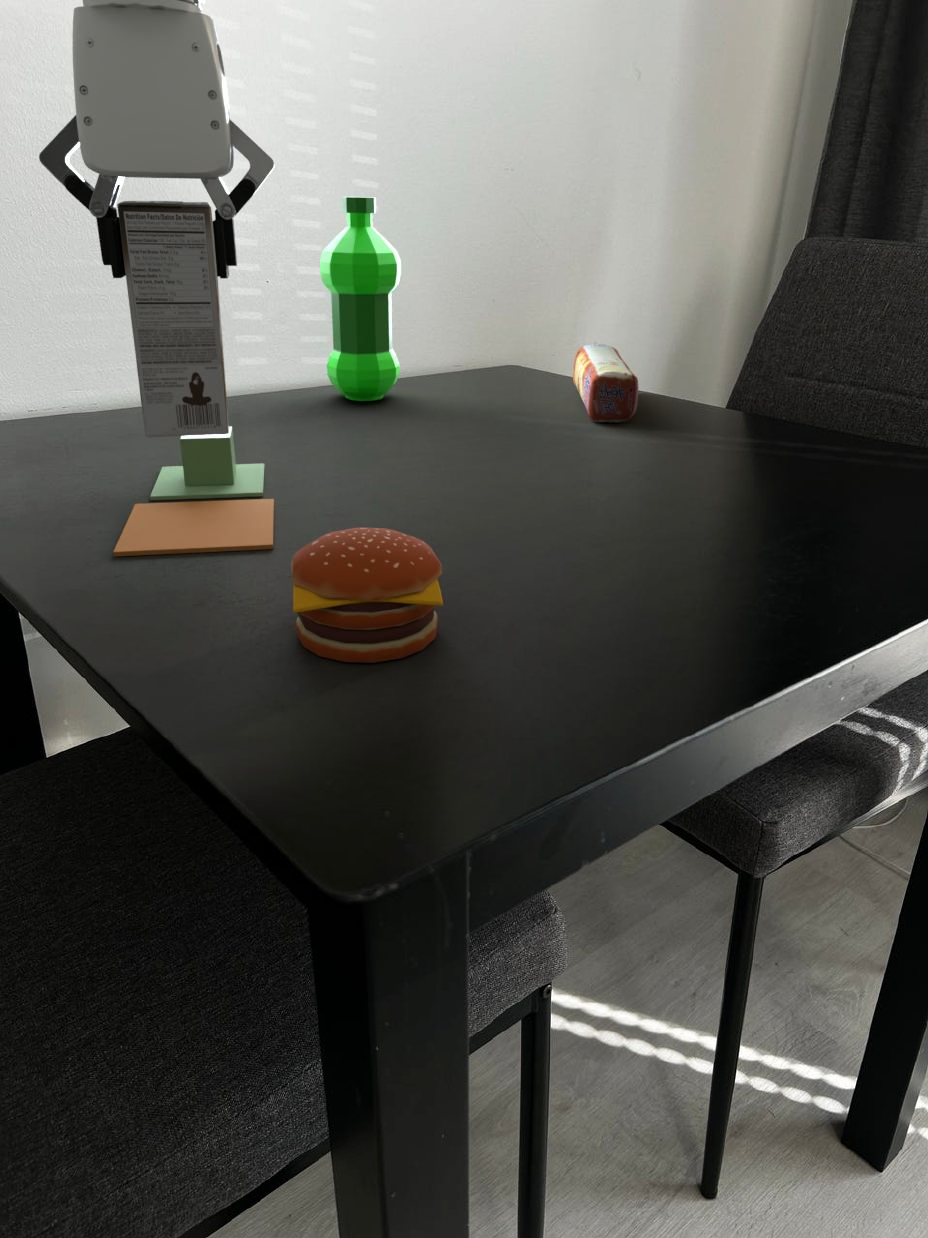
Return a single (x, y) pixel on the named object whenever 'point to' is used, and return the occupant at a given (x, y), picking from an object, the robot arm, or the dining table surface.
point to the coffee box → (175, 316)
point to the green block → (208, 459)
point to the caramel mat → (197, 527)
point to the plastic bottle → (361, 304)
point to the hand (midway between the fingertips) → (172, 274)
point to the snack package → (605, 383)
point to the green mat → (174, 488)
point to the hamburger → (366, 595)
